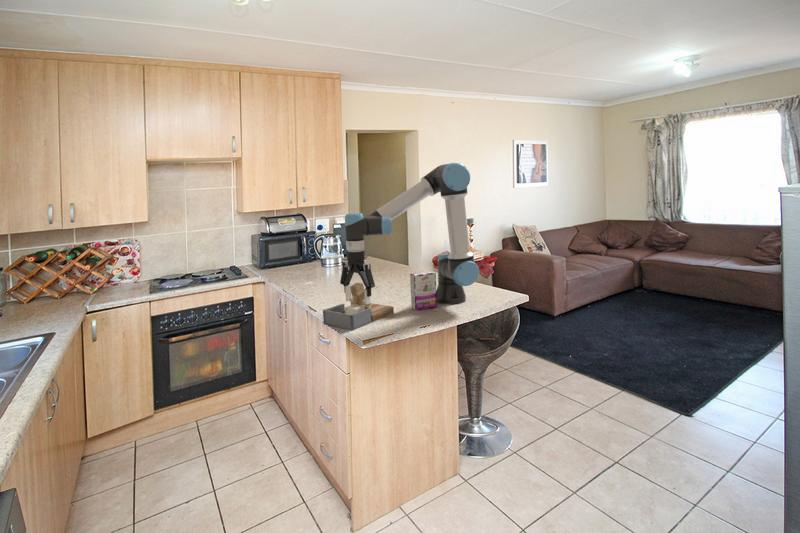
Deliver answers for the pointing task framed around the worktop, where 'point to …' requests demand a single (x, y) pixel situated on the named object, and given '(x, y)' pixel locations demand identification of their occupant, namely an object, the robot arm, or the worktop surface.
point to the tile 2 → (354, 308)
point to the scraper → (358, 295)
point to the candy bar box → (423, 290)
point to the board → (380, 311)
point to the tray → (346, 318)
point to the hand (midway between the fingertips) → (358, 302)
